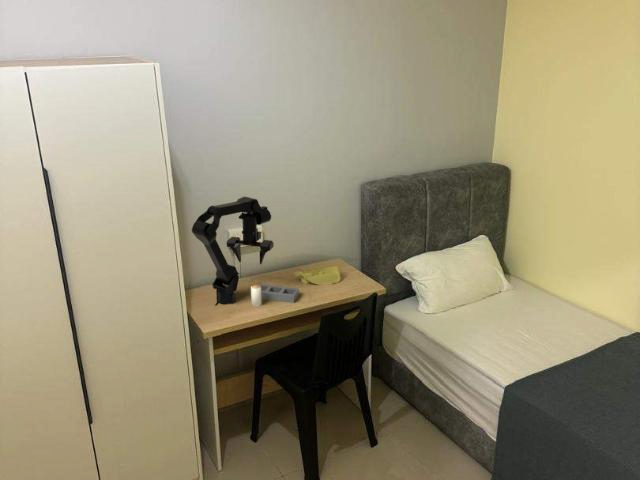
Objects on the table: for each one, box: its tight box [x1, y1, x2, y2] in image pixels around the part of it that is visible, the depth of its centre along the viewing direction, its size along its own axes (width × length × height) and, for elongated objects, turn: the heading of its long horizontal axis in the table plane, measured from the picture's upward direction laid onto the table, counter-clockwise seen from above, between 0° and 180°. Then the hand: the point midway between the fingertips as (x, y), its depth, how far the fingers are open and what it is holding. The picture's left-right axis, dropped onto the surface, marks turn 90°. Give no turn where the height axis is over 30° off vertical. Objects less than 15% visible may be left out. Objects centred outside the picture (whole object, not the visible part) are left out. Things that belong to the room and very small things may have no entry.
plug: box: [250, 284, 263, 307], centre depth 234 cm, size 4×4×8 cm
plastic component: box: [293, 265, 342, 286], centre depth 259 cm, size 20×7×10 cm
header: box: [256, 283, 300, 304], centre depth 242 cm, size 18×8×4 cm, turn 77°
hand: (250, 263), depth 245 cm, fingers open, 9 cm apart
